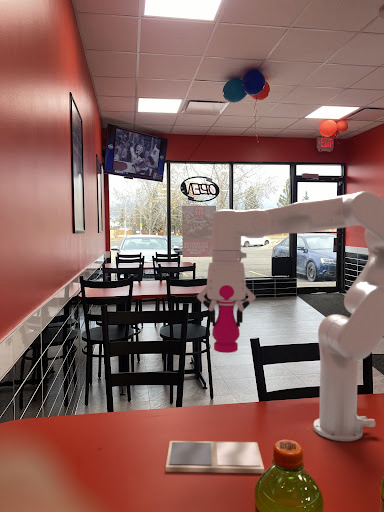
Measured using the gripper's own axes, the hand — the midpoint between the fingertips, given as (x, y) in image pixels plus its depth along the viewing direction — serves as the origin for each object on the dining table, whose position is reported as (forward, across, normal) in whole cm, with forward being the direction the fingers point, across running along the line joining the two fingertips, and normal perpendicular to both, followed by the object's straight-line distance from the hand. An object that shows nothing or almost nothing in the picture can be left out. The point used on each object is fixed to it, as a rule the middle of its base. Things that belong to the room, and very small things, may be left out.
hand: (225, 324), depth 109 cm
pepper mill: (+7, 0, 0) cm, 7 cm away
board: (+30, +3, +12) cm, 32 cm away
